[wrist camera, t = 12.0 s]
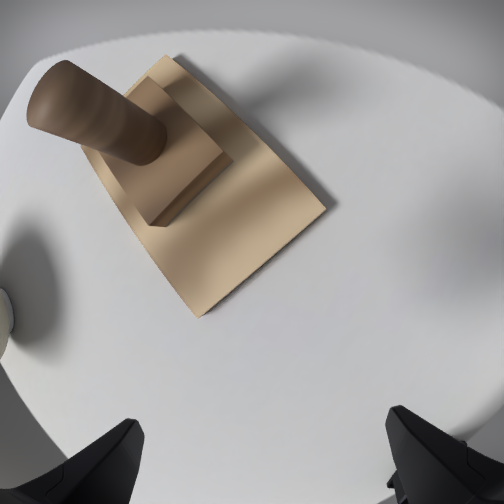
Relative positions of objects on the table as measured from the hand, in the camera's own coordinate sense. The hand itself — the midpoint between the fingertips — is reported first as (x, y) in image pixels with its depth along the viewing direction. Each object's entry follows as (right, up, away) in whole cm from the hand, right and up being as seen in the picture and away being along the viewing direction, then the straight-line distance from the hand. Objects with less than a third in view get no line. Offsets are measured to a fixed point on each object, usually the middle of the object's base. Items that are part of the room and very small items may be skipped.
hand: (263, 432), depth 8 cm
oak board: (-6, +13, +13) cm, 19 cm away
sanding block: (-7, +14, +13) cm, 20 cm away
